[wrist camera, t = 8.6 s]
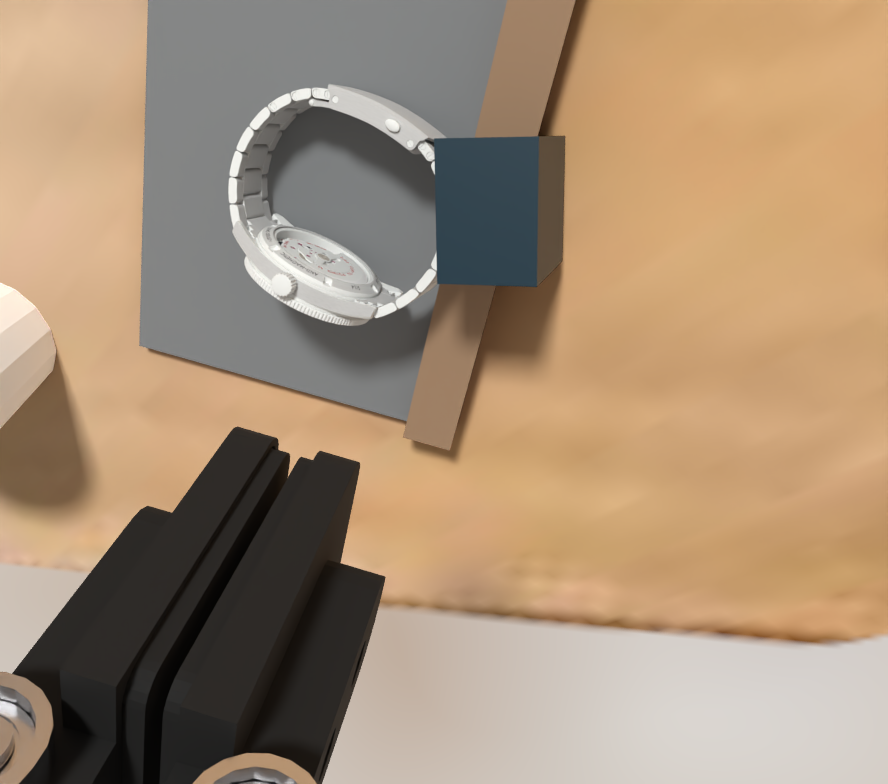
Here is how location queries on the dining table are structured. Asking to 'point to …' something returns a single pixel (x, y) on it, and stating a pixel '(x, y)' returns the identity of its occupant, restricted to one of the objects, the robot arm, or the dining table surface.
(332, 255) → the watch
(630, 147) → the dining table surface
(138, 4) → the dining table surface
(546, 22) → the mat
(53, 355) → the white cup
